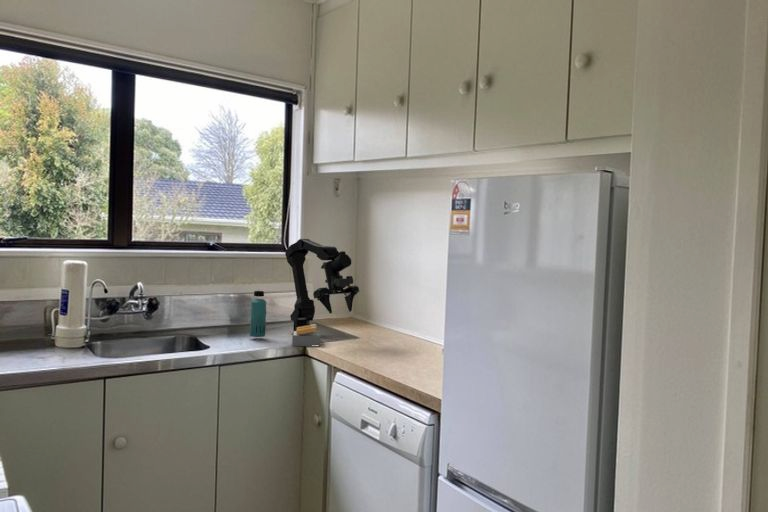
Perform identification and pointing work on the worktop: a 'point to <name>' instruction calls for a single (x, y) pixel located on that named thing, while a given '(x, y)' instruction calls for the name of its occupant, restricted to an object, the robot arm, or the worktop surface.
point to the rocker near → (306, 330)
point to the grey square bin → (306, 339)
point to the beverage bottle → (258, 316)
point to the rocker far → (306, 326)
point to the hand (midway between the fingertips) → (340, 312)
